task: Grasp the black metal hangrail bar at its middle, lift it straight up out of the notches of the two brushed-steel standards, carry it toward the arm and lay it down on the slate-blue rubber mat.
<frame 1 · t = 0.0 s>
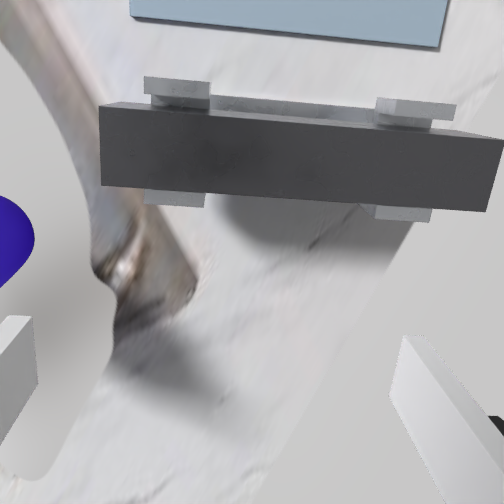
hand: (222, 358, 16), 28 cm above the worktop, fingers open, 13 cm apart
rail: (291, 148, 32), point 9 cm above the worktop, touching standards
standards: (276, 135, 41), on the worktop
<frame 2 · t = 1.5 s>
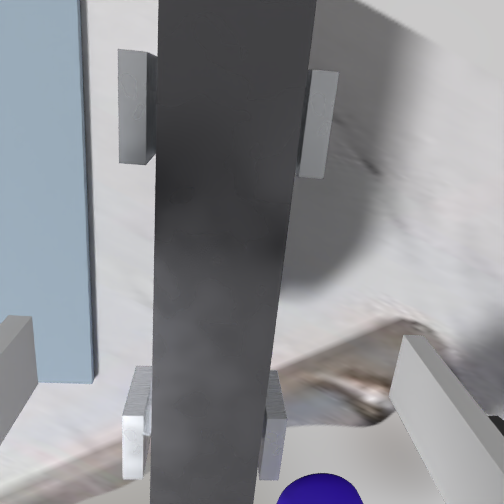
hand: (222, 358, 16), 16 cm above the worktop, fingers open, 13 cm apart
rail: (214, 279, 22), point 9 cm above the worktop, touching standards
standards: (214, 225, 31), on the worktop
bottle: (316, 501, 41), on the worktop
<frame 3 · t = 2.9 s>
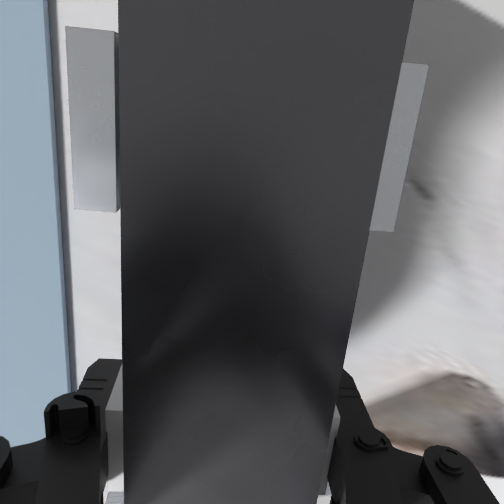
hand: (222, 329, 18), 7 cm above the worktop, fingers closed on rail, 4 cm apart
rail: (222, 356, 16), point 9 cm above the worktop, touching gripper, standards
standards: (222, 262, 24), on the worktop
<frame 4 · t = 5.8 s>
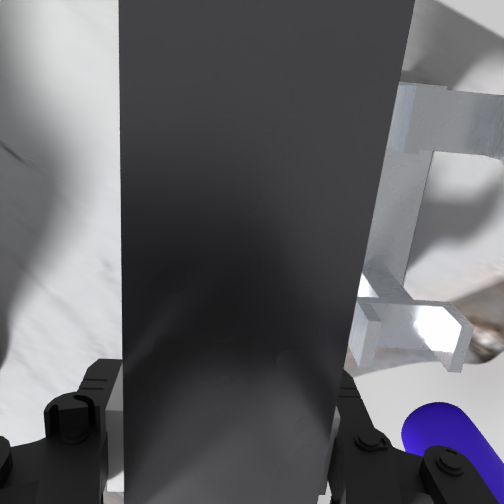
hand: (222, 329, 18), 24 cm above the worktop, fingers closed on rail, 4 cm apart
rail: (222, 356, 16), point 26 cm above the worktop, touching gripper
standards: (384, 202, 42), on the worktop
bottle: (432, 426, 52), on the worktop
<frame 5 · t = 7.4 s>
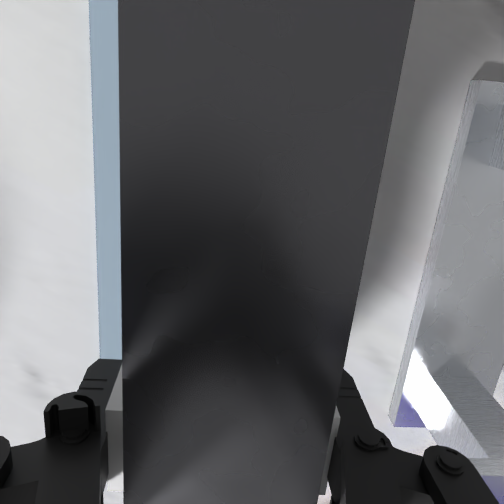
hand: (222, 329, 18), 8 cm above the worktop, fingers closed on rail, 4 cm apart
rail: (222, 356, 16), point 10 cm above the worktop, touching gripper
mat: (218, 259, 25), on the worktop
standards: (472, 274, 26), on the worktop
when the fingers open (1 cm above the worktop, at t = 8.8 s): rail drops 3 cm, resting on mat.
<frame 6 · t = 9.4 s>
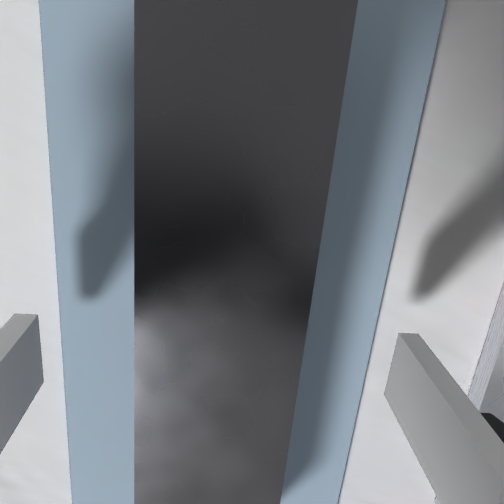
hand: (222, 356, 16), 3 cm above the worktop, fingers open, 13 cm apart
rail: (216, 321, 18), point 1 cm above the worktop, touching mat
mat: (222, 314, 19), on the worktop
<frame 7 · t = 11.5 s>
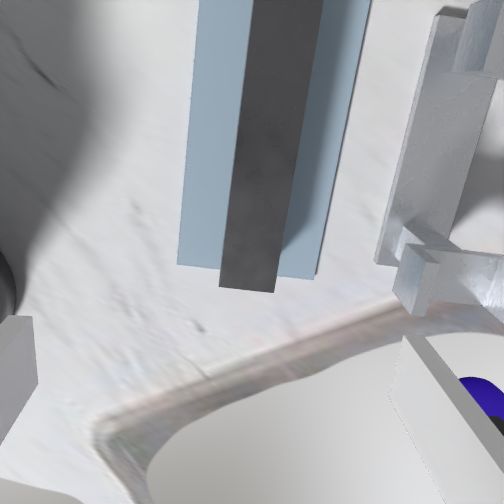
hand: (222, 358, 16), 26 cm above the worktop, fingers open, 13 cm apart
rail: (263, 131, 37), point 1 cm above the worktop, touching mat
mat: (265, 130, 38), on the worktop
standards: (433, 154, 39), on the worktop
bottle: (463, 403, 49), on the worktop
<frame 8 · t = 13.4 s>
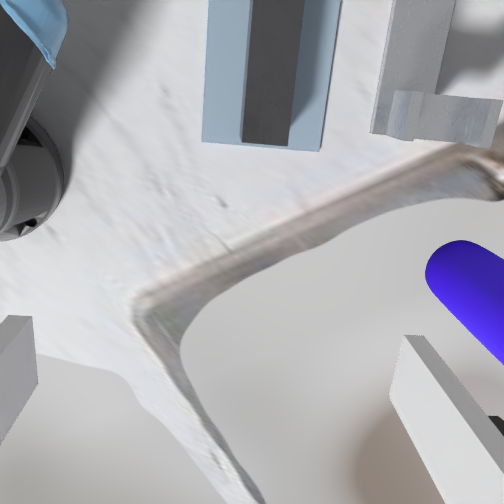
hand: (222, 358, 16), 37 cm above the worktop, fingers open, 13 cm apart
rail: (271, 14, 44), point 1 cm above the worktop, touching mat
mat: (273, 15, 45), on the worktop
standards: (415, 31, 46), on the worktop
bottle: (453, 267, 57), on the worktop
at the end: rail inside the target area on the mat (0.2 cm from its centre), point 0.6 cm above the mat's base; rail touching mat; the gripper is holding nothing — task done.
